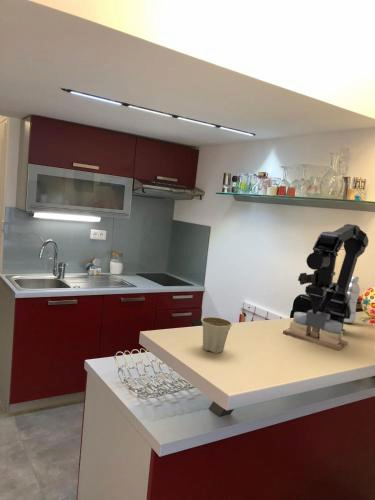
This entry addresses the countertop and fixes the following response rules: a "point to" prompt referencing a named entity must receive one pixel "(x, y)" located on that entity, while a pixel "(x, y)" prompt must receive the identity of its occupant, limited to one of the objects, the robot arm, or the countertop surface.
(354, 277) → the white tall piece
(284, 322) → the countertop surface
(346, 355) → the countertop surface
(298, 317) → the grey dumbbell shape
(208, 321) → the flower pot
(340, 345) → the display stand
